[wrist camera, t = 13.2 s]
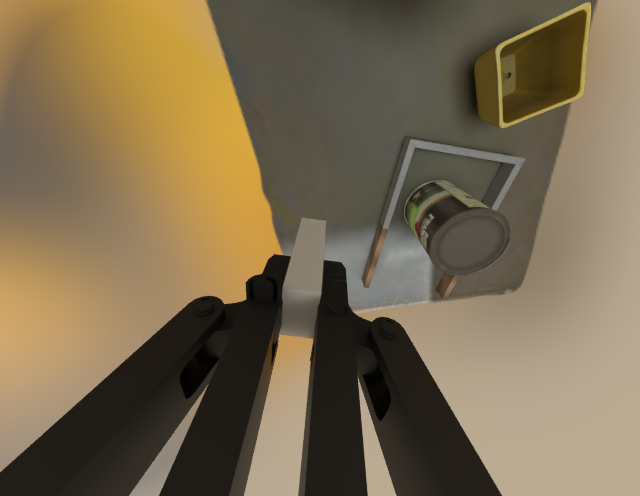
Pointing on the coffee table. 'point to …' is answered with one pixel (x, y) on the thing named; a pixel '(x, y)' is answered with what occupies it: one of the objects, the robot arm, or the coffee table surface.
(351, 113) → the coffee table surface
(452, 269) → the coffee can
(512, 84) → the flower pot
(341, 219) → the coffee table surface
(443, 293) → the slot rails
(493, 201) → the grey piece
